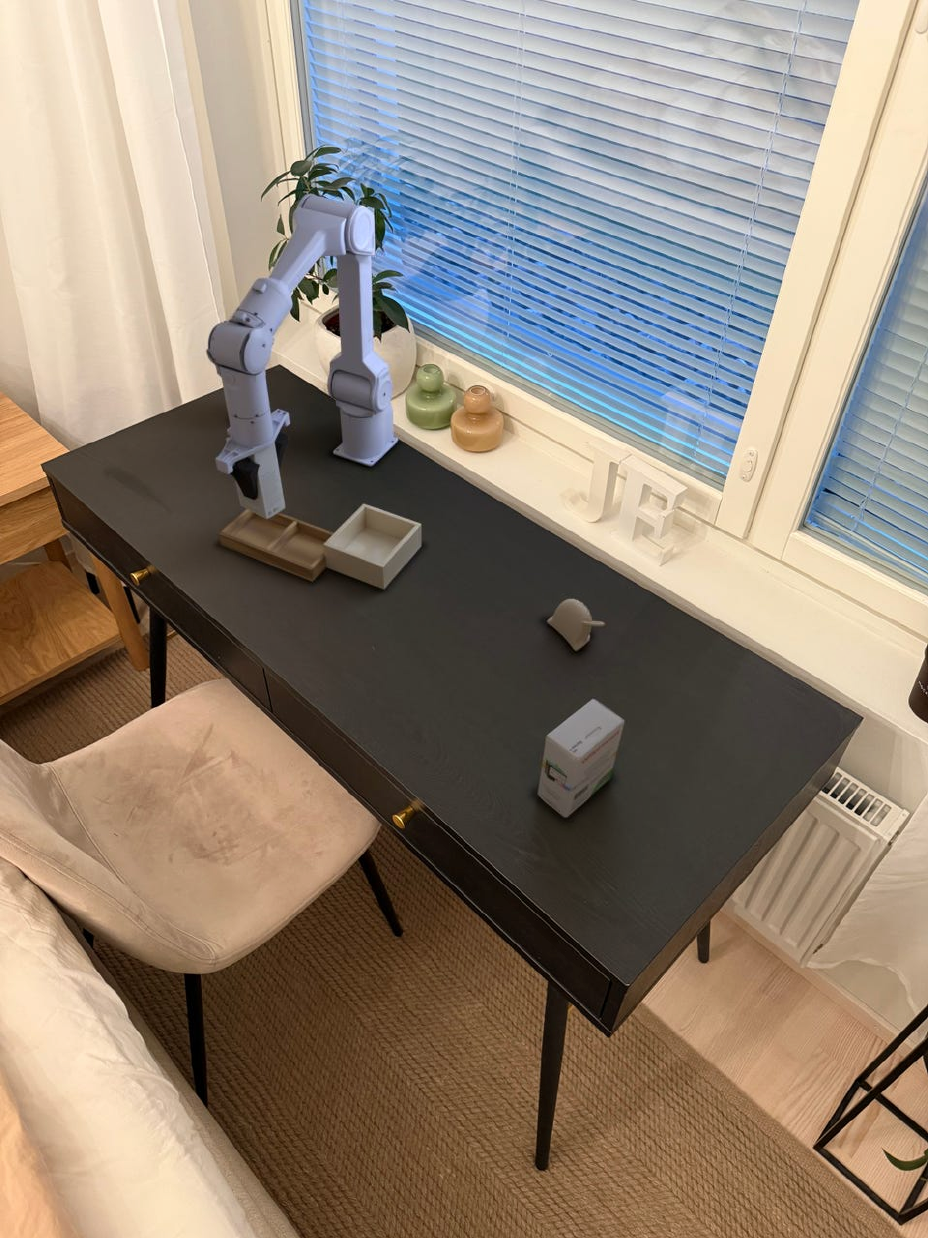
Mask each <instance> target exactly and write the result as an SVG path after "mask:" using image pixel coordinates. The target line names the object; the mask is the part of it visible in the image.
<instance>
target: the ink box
mask: <svg viewBox="0 0 928 1238" xmlns="http://www.w3.org/2000/svg"><path fill="white" fill-rule="evenodd" d="M625 723H626V722H625V719H623V718H622V717H620V715H618V714H617V713H616V712H614V711H613V710H611V708H609V707H607V706H606V705H604V704H603V703H601V702H600V701H598V700H597V699H594V698H592V699H591V700H589V701H588V702H587V703H586V704H584V705H583V706H582V707H581V708H579V709H578V710H577V711H575V712H574V713H573V714H571V716H569V717H567V718H566V720H564V721H563V722H562V723H560V724H559V725H558V726H557V727H556V728H554V729H553V730H552V731H550V732H549V733H548V734H547V735H546V737H545V744H544V750H543V757H542V764H541V771H540V776H539V783H538V789H537V796H538V797H540V798H541V800H543V801H544V802H545V803H546V804H547V805H548V806H550V807H551V808H552V809H553V810H554V811H555V812H557V813H558V814H559V815H560V816H562V817H563V818H565V819H566V818H568V817H570V815H572V814H573V813H574V812H575V811H576V810H577V809H578V808H580V807H581V806H582V805H583V804H584V803H586V801H587V800H588V799H590V798H591V797H592V796H593V795H595V793H596V792H597V791H599V790H600V788H602V787H603V786H604V785H606V783H608V781H610V780H611V777H612V773H613V768H614V763H615V760H616V756H617V754H618V749H619V745H620V741H621V737H622V734H623V731H624V725H625Z"/></svg>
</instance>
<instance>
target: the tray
mask: <svg viewBox="0 0 928 1238" xmlns="http://www.w3.org/2000/svg"><path fill="white" fill-rule="evenodd" d="M334 533H335V532H332V531H331V530H327V529H326V528H325V529H324V528H321V527H320V526H316V525H313V524H311V523H309V522H306V521H303V520H300V519H297V518H295V517H292V516H290V515H288V514H284V513H282V512H279V513H277V514H276V515H274V516H272V517H271V518H269V519H267V520H266V519H264V518H262V517H261V516H259V515H257V514H255V513H254V512H252V511H250V510H248V509H246V508H245V510H244V511H242V512H241V513H240V515H238V516H237V517H236V518H234V520H232V521H231V522H230V523H229V524H228V525H227V526H225V528H224V529H222V530H221V531H220V532H219V533H218V536H219V541H220V545H221V546H222V547H225V548H226V549H229V550H232V551H234V552H237V553H240V554H242V555H245V556H247V557H249V558H253V559H255V560H256V561H259V562H262V563H265V564H267V565H269V566H272V567H275V568H277V569H280V570H282V571H285V572H286V573H289V574H292V575H295V576H298V577H300V578H302V579H304V580H308V581H310V582H312V583H313V582H314V581H315V580H316V579H317V578H318V577H319V576H320V575H321V574H322V572H323V571H325V570H326V568H327V567H326V559H325V555H324V548H323V544H324V543H325V542H326V541H327V540H328V539H329V538H330V537H331V536H332V535H333V534H334Z"/></svg>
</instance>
